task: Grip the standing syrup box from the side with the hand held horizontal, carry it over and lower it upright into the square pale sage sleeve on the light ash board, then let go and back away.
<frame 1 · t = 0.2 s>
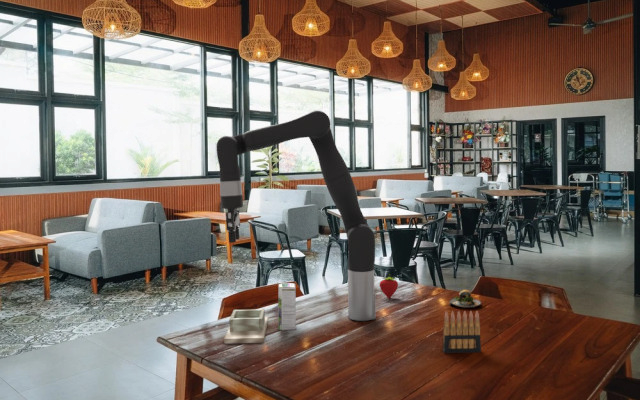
hand: (234, 240, 182), 28 cm above the table, tool pointing down, fingers open, 8 cm apart
syrup box: (287, 328, 176), on the table
ammunition clip: (461, 352, 151), on the table
burger: (465, 306, 199), on the table
strawberry: (388, 298, 211), on the table
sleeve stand: (247, 331, 172), on the table
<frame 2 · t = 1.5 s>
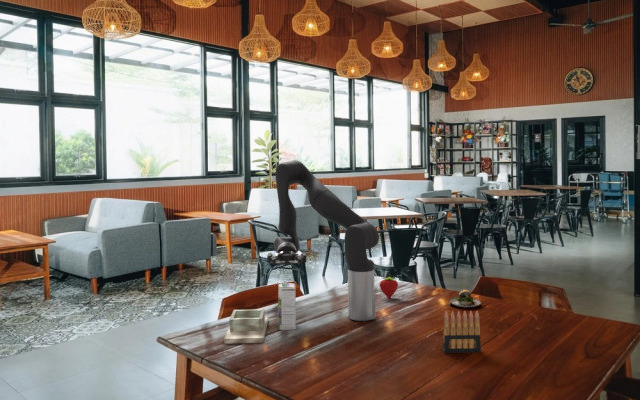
hand: (286, 261, 185), 20 cm above the table, tool horizontal, fingers open, 8 cm apart
nothing on the table moved.
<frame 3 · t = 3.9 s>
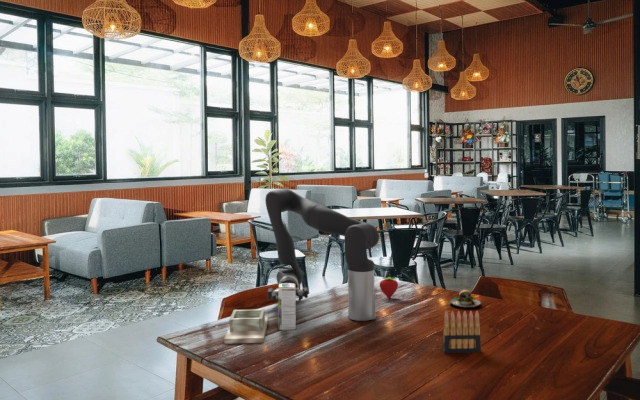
hand: (287, 298, 180), 9 cm above the table, tool horizontal, fingers open, 8 cm apart
nothing on the table moved.
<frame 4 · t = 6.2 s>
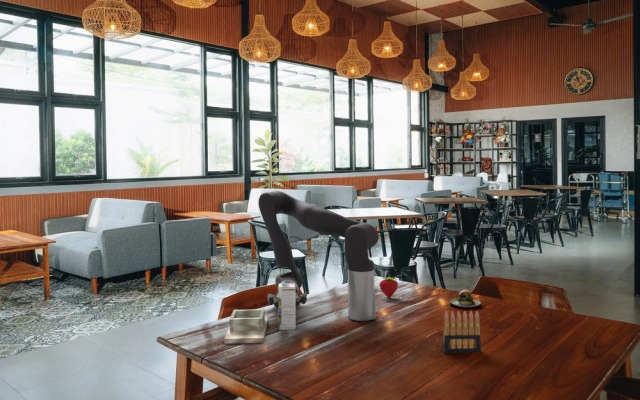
hand: (286, 304, 172), 9 cm above the table, tool horizontal, fingers closed on syrup box, 6 cm apart
syrup box: (287, 328, 176), on the table, touching gripper
everything else where it was.
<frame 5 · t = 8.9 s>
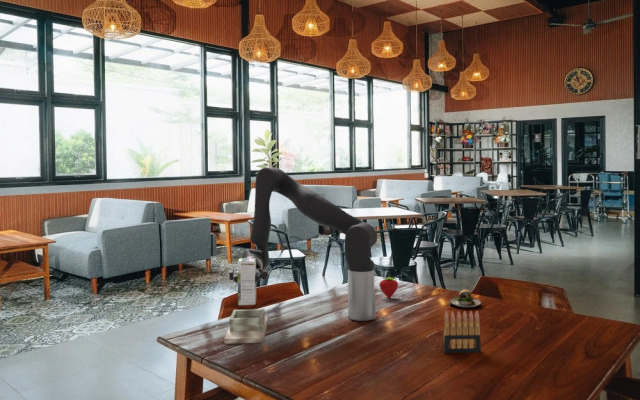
hand: (246, 279, 170), 18 cm above the table, tool horizontal, fingers closed on syrup box, 6 cm apart
syrup box: (247, 303, 173), point 9 cm above the table, touching gripper
everything else where it was.
when the fingers open (10 cm above the table, at t = 11.7 s): syrup box stays where it is, resting on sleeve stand.
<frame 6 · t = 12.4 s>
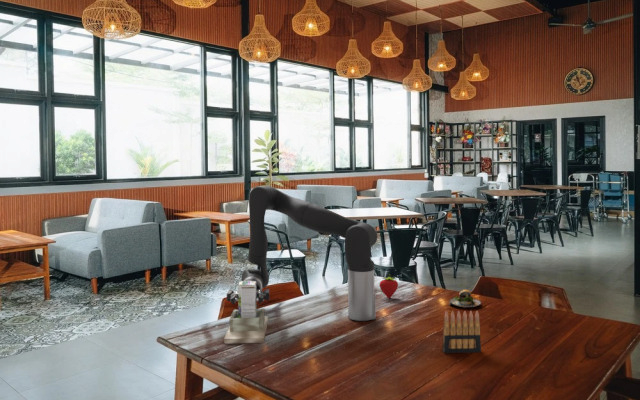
hand: (246, 300, 170), 10 cm above the table, tool horizontal, fingers open, 8 cm apart
syrup box: (248, 326, 173), point 1 cm above the table, touching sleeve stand
everything else where it was.
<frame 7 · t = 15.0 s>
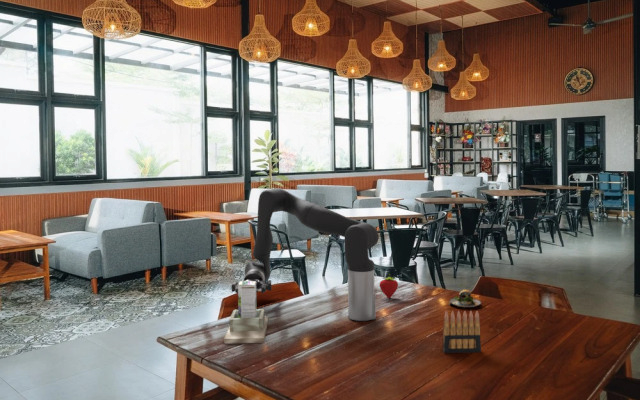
hand: (250, 290, 183), 11 cm above the table, tool horizontal, fingers open, 8 cm apart
nothing on the table moved.
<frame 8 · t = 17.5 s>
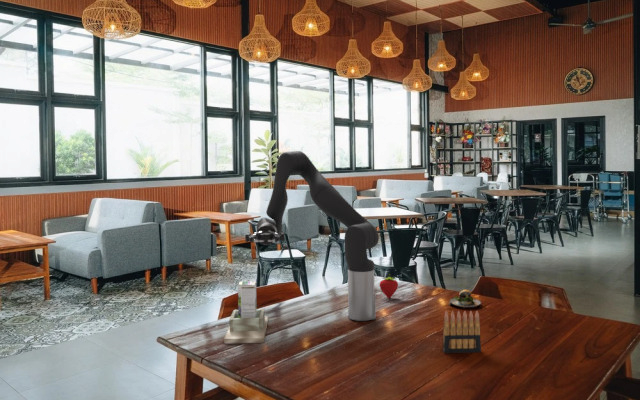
hand: (264, 239, 185), 28 cm above the table, tool horizontal, fingers open, 8 cm apart
nothing on the table moved.
at the end: syrup box 0.2 cm from the target spot on the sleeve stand, point 1.3 cm above the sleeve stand's base; syrup box tilted 0°; the gripper is holding nothing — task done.
